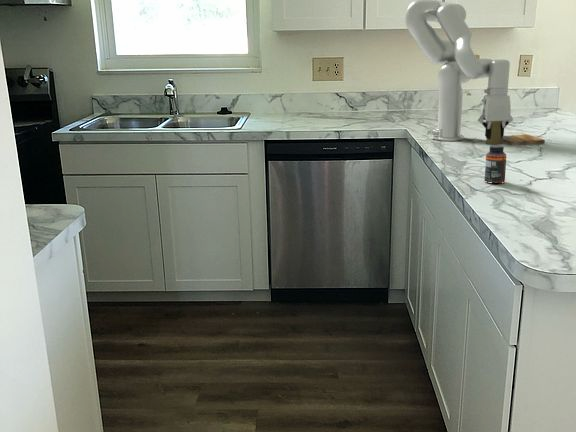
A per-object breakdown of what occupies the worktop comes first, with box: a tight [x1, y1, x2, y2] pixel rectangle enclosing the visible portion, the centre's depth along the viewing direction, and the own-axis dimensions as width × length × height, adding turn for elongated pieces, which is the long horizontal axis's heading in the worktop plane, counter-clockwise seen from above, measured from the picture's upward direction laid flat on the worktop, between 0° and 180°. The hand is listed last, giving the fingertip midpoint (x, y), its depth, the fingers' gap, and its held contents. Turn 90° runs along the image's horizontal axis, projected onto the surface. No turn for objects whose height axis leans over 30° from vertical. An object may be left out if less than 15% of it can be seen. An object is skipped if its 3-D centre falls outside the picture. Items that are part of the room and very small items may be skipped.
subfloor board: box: [501, 133, 546, 146], centre depth 253 cm, size 14×13×2 cm
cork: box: [485, 121, 503, 146], centre depth 250 cm, size 6×6×11 cm
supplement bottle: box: [484, 144, 507, 184], centre depth 190 cm, size 6×6×11 cm
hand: (494, 137), depth 251 cm, fingers open, 4 cm apart
